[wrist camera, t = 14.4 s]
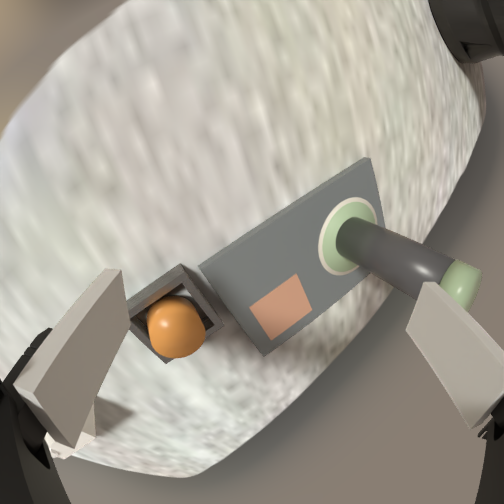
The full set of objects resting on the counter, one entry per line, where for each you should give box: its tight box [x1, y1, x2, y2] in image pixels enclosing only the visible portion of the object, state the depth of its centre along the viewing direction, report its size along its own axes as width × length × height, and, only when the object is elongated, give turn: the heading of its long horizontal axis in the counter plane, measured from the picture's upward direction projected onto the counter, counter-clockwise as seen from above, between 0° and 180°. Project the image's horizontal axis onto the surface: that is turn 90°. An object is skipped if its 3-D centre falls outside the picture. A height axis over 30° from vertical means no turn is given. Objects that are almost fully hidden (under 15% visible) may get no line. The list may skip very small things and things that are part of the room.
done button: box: [147, 296, 206, 358], centre depth 19 cm, size 4×4×2 cm
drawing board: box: [198, 157, 385, 356], centre depth 25 cm, size 18×12×1 cm, turn 117°
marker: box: [336, 217, 482, 313], centre depth 20 cm, size 4×4×13 cm
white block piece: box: [44, 403, 96, 459], centre depth 17 cm, size 15×11×6 cm
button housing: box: [126, 264, 224, 364], centre depth 21 cm, size 6×6×2 cm
